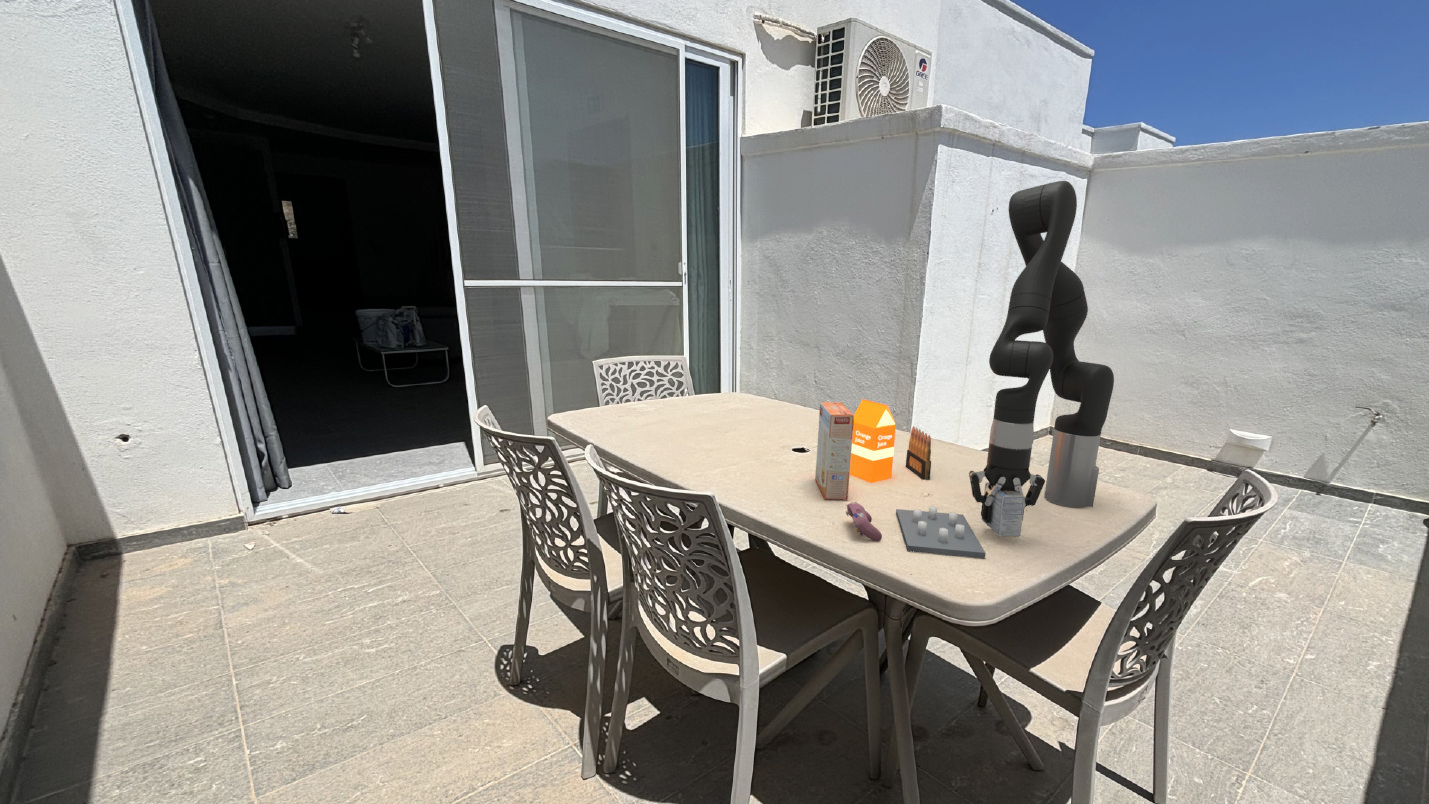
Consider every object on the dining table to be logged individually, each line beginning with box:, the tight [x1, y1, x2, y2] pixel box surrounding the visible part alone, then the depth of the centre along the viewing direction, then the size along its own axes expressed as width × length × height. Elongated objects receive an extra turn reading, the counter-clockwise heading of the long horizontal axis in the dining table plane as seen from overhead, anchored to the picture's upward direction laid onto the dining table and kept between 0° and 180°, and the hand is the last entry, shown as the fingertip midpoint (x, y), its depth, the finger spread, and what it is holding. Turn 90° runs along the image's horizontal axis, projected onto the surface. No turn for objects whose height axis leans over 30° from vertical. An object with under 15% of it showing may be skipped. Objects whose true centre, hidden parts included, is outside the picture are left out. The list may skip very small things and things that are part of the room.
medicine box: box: [981, 481, 1026, 538], centre depth 116 cm, size 8×4×9 cm, turn 179°
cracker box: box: [814, 401, 854, 501], centre depth 139 cm, size 14×6×21 cm, turn 179°
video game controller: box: [845, 501, 883, 542], centre depth 118 cm, size 10×5×7 cm, turn 179°
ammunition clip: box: [905, 425, 932, 481], centre depth 153 cm, size 11×2×12 cm, turn 7°
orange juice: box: [849, 398, 897, 484], centre depth 150 cm, size 8×9×20 cm
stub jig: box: [895, 505, 987, 560], centre depth 117 cm, size 14×18×4 cm
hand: (1000, 521), depth 116 cm, fingers closed on medicine box, 5 cm apart
